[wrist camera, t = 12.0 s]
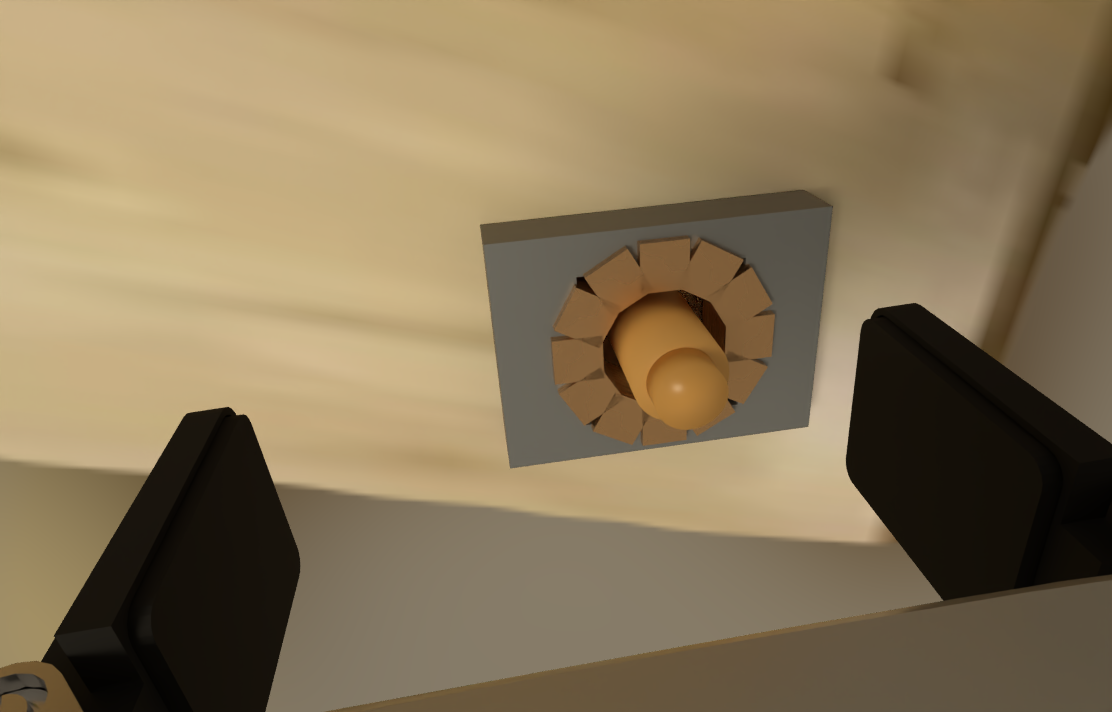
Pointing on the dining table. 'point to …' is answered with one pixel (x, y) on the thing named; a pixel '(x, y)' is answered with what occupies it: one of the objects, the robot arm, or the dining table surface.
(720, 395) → the tan domed cylinder
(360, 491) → the dining table surface
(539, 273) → the plate
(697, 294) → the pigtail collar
